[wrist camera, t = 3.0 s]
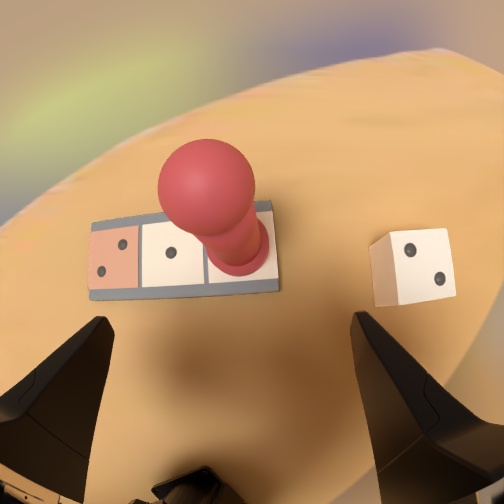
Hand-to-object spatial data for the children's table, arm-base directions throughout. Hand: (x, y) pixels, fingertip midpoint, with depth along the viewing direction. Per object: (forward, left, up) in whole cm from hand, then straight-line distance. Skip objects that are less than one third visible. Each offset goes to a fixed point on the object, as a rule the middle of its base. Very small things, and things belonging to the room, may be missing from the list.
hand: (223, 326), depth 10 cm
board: (-2, +7, -11) cm, 13 cm away
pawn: (+2, +4, -10) cm, 11 cm away
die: (+11, -4, -11) cm, 16 cm away
